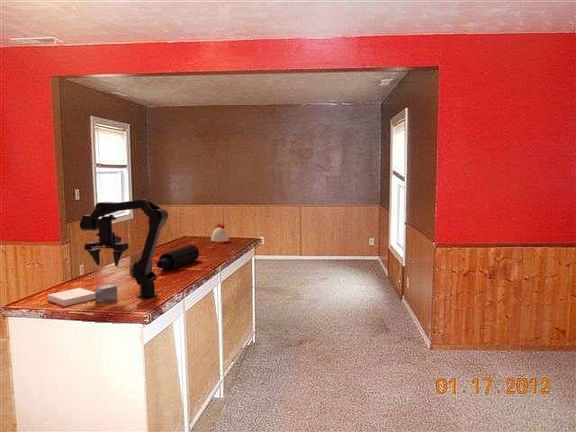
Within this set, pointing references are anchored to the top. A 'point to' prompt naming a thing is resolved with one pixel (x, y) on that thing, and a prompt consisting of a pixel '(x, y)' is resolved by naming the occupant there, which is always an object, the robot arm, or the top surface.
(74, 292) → the board
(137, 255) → the ammunition clip
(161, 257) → the roller
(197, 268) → the top surface
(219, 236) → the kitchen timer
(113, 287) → the block
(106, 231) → the robot arm
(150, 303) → the top surface
